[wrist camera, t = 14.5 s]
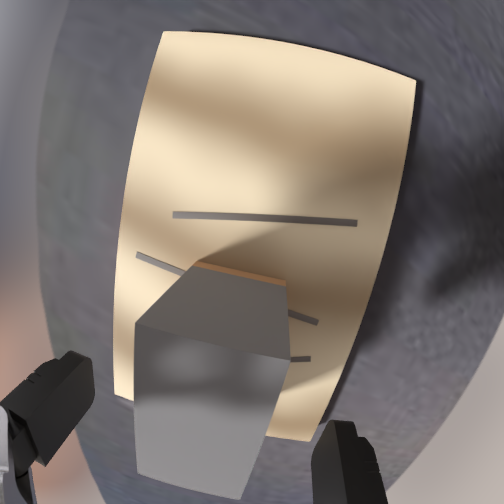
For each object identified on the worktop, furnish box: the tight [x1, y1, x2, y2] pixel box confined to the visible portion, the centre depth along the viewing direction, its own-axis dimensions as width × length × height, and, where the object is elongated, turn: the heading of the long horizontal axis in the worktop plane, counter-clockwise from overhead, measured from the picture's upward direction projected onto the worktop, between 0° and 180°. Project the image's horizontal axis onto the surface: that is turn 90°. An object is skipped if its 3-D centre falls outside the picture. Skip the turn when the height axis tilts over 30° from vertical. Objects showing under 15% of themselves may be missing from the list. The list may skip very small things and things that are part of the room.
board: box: [113, 31, 416, 442], centre depth 14 cm, size 20×12×1 cm, turn 168°
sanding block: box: [134, 261, 291, 500], centre depth 11 cm, size 7×4×6 cm, turn 168°
